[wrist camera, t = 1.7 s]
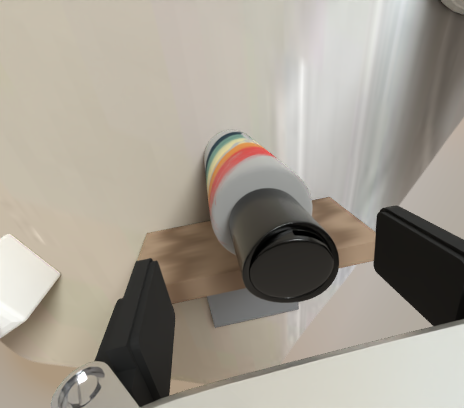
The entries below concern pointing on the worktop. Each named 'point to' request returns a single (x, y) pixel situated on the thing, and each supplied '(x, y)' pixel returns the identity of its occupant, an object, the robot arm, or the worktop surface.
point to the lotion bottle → (266, 221)
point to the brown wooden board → (225, 263)
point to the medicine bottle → (21, 282)
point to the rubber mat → (243, 307)
